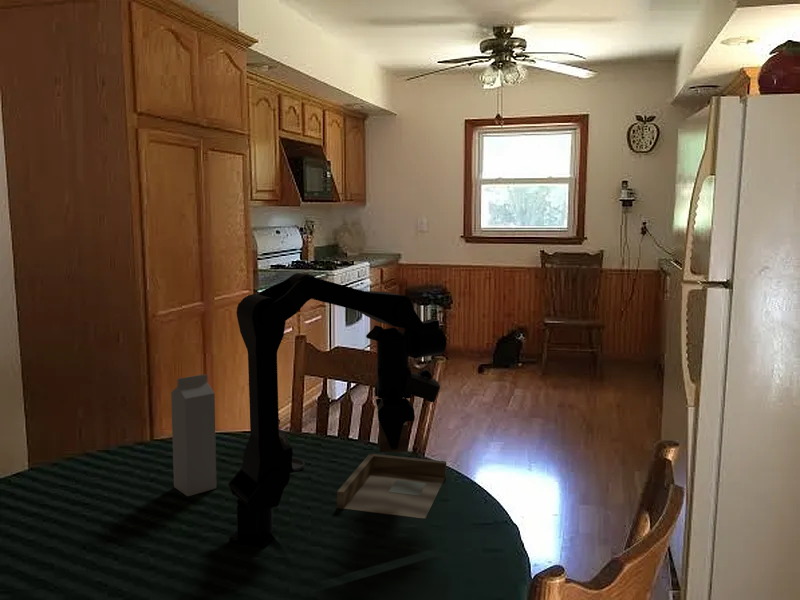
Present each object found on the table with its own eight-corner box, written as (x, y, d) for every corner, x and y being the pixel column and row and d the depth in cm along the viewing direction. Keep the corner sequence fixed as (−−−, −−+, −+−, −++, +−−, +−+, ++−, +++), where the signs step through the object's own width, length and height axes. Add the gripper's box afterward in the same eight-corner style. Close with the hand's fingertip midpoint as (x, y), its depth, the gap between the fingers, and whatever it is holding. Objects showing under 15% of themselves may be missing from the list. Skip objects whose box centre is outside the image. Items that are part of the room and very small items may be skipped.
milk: (216, 488, 131) (215, 377, 128) (187, 497, 127) (184, 382, 124) (202, 479, 135) (200, 371, 133) (172, 487, 131) (170, 375, 128)
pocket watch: (301, 474, 138) (301, 427, 137) (260, 473, 139) (260, 426, 137) (307, 460, 147) (307, 415, 145) (269, 459, 147) (268, 414, 145)
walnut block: (407, 451, 124) (407, 424, 123) (380, 452, 123) (379, 425, 123) (405, 441, 129) (405, 416, 128) (378, 442, 128) (378, 417, 128)
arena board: (424, 524, 117) (425, 501, 117) (337, 512, 121) (337, 491, 120) (445, 480, 136) (446, 461, 136) (369, 472, 140) (369, 453, 140)
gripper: (443, 373, 115) (443, 461, 117) (430, 349, 134) (430, 426, 136) (378, 374, 114) (378, 463, 116) (374, 351, 133) (375, 428, 135)
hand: (393, 443), depth 126 cm, fingers closed on walnut block, 5 cm apart
